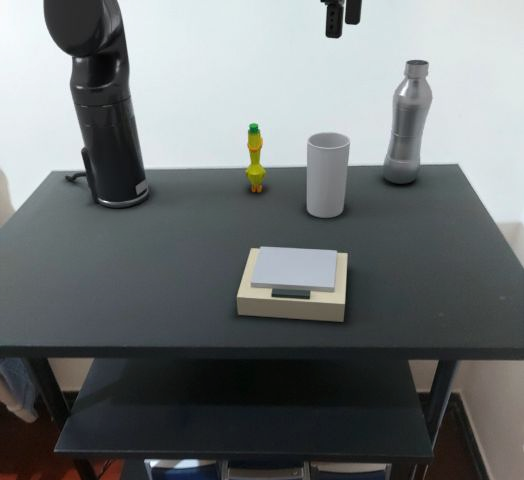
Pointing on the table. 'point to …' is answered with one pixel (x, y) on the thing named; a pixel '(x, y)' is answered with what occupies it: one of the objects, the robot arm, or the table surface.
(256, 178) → the toy figure
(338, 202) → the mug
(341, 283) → the scale
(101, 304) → the table surface
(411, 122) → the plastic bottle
